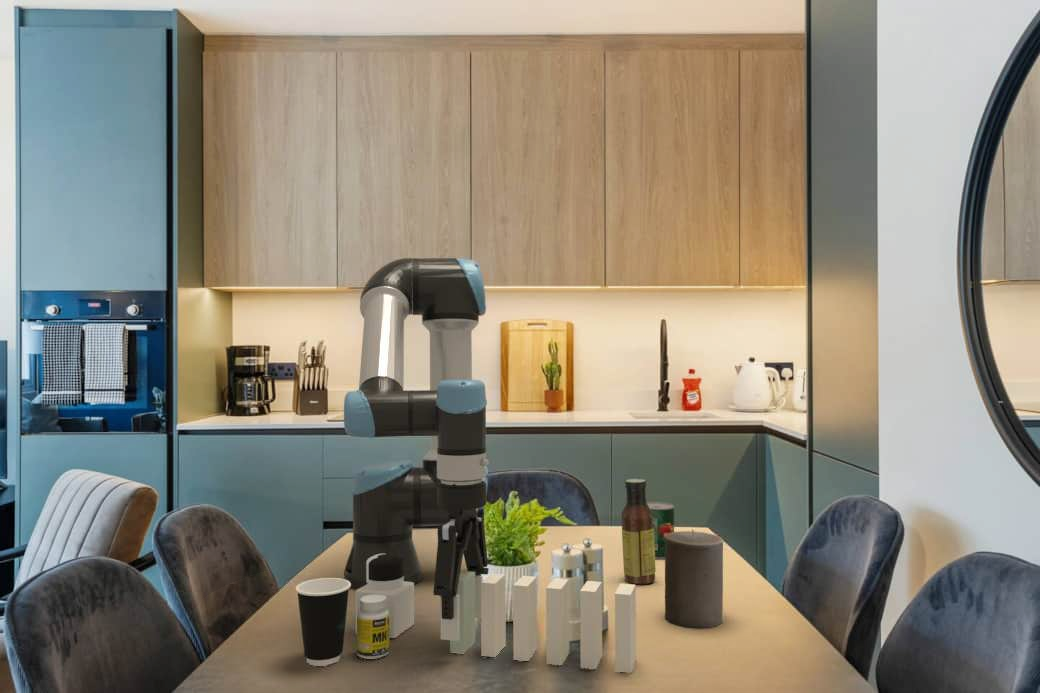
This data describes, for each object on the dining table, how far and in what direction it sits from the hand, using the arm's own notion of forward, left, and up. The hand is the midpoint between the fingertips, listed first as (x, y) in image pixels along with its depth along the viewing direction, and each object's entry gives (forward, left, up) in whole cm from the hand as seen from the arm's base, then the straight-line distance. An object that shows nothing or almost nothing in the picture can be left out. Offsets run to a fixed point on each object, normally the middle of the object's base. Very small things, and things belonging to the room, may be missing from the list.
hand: (462, 627), depth 118 cm
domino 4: (+20, 0, -3) cm, 20 cm away
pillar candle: (+33, +23, -3) cm, 40 cm away
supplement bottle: (-12, -6, -3) cm, 14 cm away
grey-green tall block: (0, 0, -3) cm, 3 cm away
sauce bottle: (+21, +42, -3) cm, 47 cm away
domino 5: (+25, 0, -3) cm, 25 cm away
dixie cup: (-18, -10, -3) cm, 21 cm away
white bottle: (-15, +4, -3) cm, 16 cm away
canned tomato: (+22, +63, -3) cm, 67 cm away
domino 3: (+15, 0, -3) cm, 15 cm away
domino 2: (+10, 0, -3) cm, 10 cm away
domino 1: (+5, 0, -3) cm, 6 cm away
